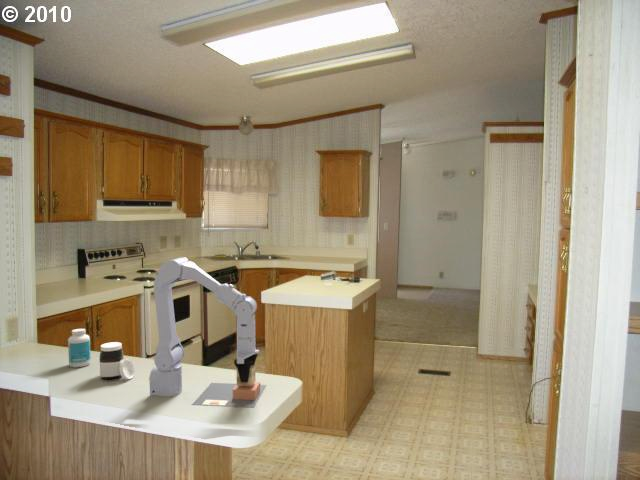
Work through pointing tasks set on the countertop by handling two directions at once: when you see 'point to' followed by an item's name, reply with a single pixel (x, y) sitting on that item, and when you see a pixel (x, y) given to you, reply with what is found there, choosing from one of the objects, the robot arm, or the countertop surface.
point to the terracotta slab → (246, 391)
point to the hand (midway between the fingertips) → (246, 379)
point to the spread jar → (114, 363)
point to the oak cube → (250, 380)
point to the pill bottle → (79, 348)
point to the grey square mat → (224, 396)
